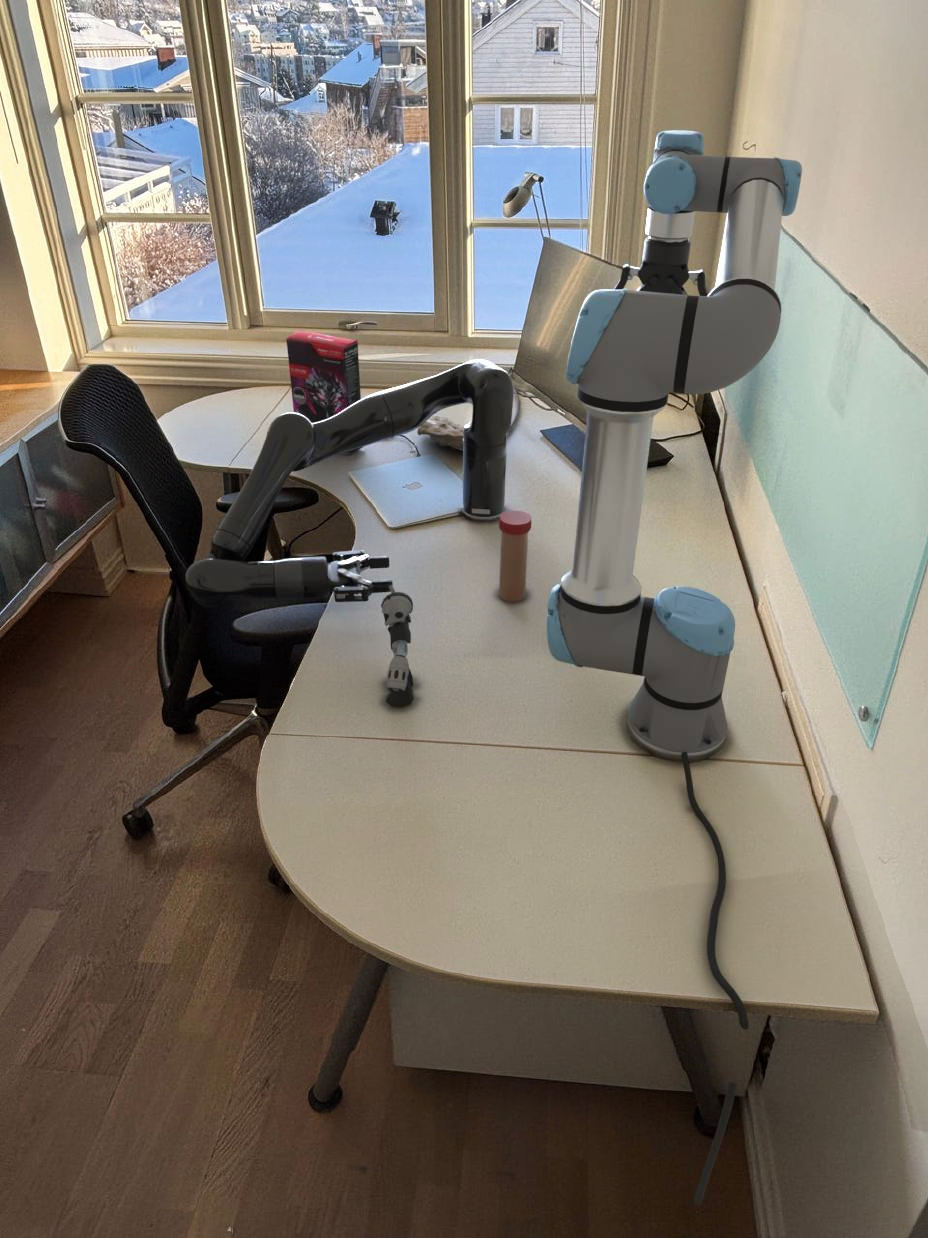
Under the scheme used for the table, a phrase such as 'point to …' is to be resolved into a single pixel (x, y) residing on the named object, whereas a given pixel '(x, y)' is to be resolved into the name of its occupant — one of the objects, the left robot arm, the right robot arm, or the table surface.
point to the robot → (398, 647)
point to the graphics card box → (323, 375)
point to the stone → (443, 431)
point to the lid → (515, 522)
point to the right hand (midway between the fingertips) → (652, 364)
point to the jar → (513, 566)
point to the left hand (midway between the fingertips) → (390, 573)
